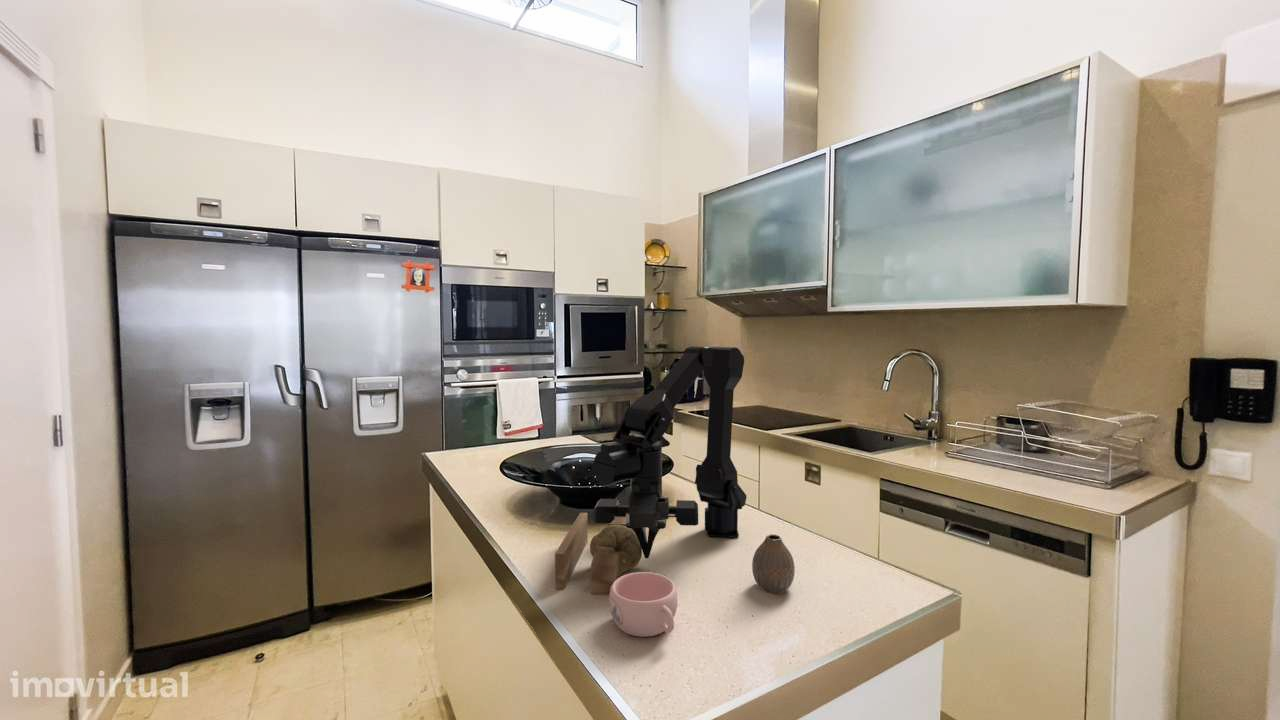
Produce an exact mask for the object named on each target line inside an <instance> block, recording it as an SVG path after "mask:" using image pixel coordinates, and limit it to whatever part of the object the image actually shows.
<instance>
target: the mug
mask: <svg viewBox="0 0 1280 720" xmlns="http://www.w3.org/2000/svg"><path fill="white" fill-rule="evenodd" d="M608 596H609V597H608V601H609V603H608V604H609V605H608V606H609V610H610V615H611V616H612V619H613V620H614V623H615V625H616V626H617V627H618V628H619V629H620V630H621V631H622V632H623V633H626V634H627V635H631V636H634V637H641V638H644V637H654V636H657V635H660V634H661V633H667V634H670V633H672V632H673V630H674V629H675V620H674V618H675V616H676V614H677V613H676V612H677V608H678V601H679V600H678V591H677V587H676V585H675V583H674V582H673V581H672V580H671V579H670V578H668V577H667V576H665V575H663V574H660V573H656V572H650V571H636V572H631V573H626V574H624V575H621V576H620V577H619V578H618V579H617V580H616V581H614V583H613V584H612V586H611V589H610V594H609V595H608Z"/></svg>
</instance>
